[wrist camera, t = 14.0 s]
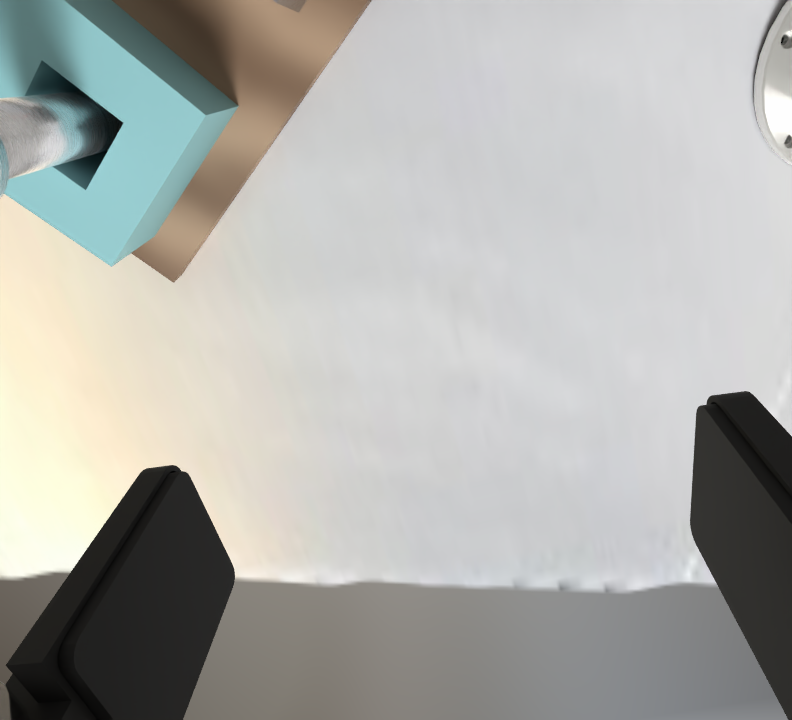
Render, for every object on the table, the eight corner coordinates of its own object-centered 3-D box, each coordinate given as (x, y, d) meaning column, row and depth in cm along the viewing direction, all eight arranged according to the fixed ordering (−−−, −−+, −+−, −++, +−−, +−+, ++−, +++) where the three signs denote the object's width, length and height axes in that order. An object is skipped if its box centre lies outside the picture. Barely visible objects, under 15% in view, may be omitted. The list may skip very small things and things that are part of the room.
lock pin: (101, 53, 31) (-132, 47, 18) (174, 111, 33) (8, 147, 19) (66, 121, 33) (-171, 162, 20) (136, 174, 34) (-41, 247, 21)
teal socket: (77, -29, 29) (5, -48, 24) (238, 106, 32) (205, 115, 27) (4, 128, 33) (-73, 141, 28) (154, 236, 36) (111, 266, 31)
